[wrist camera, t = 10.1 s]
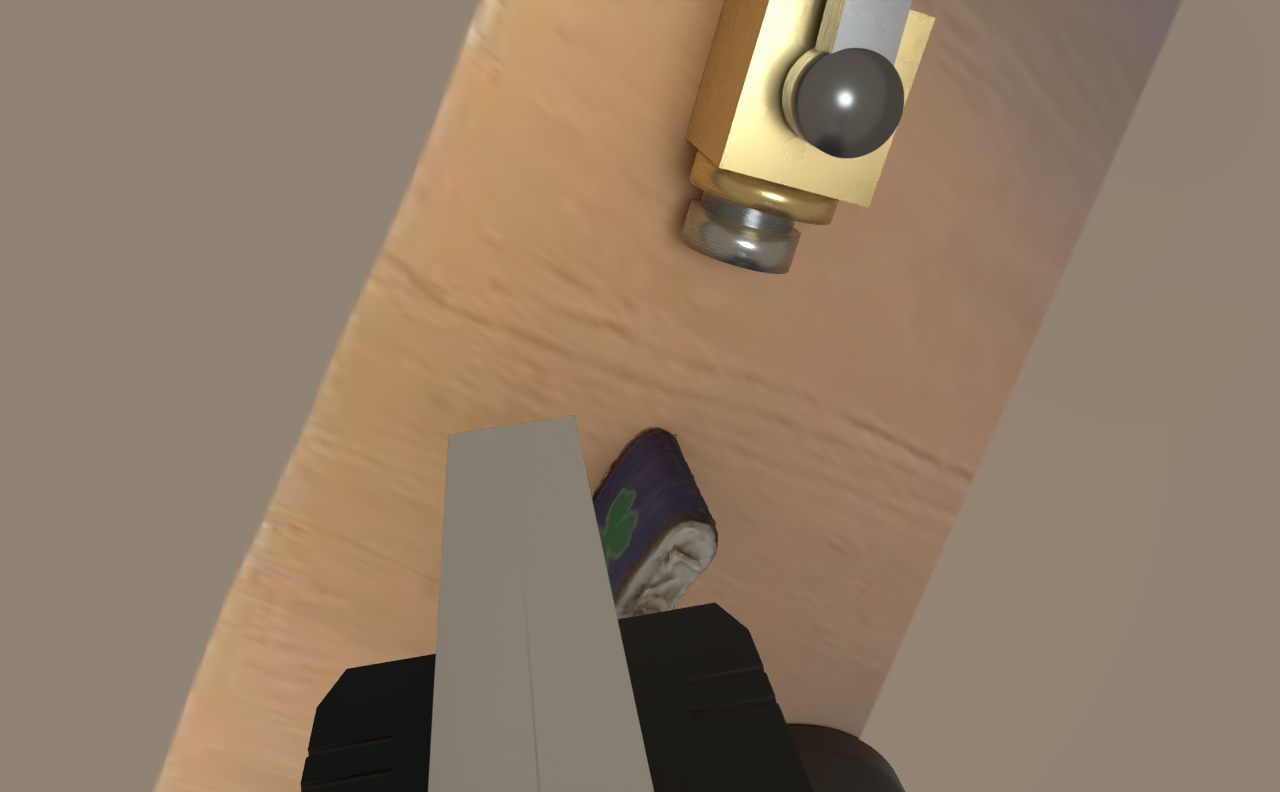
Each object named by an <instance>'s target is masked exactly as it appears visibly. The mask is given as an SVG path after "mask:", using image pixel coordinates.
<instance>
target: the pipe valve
mask: <svg viewBox="0 0 1280 792" xmlns="http://www.w3.org/2000/svg"><path fill="white" fill-rule="evenodd" d="M826 2H827V0H725V2H724V6H723V9H722V13H721V16H720V20H719V23H718V26H717V30H716V33H715V37H714V40H713V44H712V47H711V51H710V54H709V58H708V61H707V65H706V68H705V71H704V75H703V78H702V82H701V85H700V89H699V92H698V96H697V99H696V103H695V106H694V110H693V113H692V116H691V120H690V123H689V127H688V130H687V134H686V137H685V138H686V139H687V140H688V141H690V142H691V143H692V144H693V145H694V146H695V147H696V148H698V149H699V150H698V151H697V154H696V157H695V161H694V164H693V168H692V171H691V174H690V178H689V181H690V182H691V183H692V184H693V185H694V186H696V187H698V188H700V189H701V190H703V191H704V192H703V196H702V199H694V200H691V202H690V206H689V209H688V213H687V216H686V219H685V223H684V226H683V229H682V233H681V236H680V240H681V241H682V242H683V243H684V244H685V245H687V246H688V247H690V248H692V249H693V250H695V251H697V252H699V253H702V254H704V255H706V256H709V257H711V258H714V259H717V260H719V261H722V262H725V263H728V264H731V265H735V266H738V267H742V268H746V269H750V270H754V271H759V272H765V273H772V274H784V273H787V272H789V269H790V266H791V263H792V260H793V257H794V254H795V251H796V248H797V245H798V242H799V239H800V236H801V233H800V232H799V231H798V230H796V229H795V228H793V226H794V223H795V221H798V222H804V223H809V224H817V225H828V224H831V221H832V219H833V216H834V213H835V210H836V207H837V204H838V201H839V200H842V201H846V202H850V203H853V204H857V205H861V206H865V207H868V208H869V205H870V203H871V200H872V197H873V194H874V191H875V188H876V186H877V183H878V180H879V177H880V174H881V171H882V168H883V166H884V163H885V160H886V157H887V154H888V151H889V149H890V146H891V143H892V140H893V137H894V134H895V131H896V129H897V128H896V129H895V131H894V133H893V134H892V135H891V137H890V138H889V139H888V140H887V141H886V142H885V143H884V144H883V145H882V146H881V147H879V148H878V149H877V150H875V151H873V152H871V153H869V154H867V155H865V156H861V157H857V158H845V159H844V158H837V157H834V156H831V155H828V154H826V153H824V152H822V151H821V150H819V149H817V148H815V147H814V146H812V145H810V144H809V143H807V142H805V141H804V140H802V139H801V138H799V137H798V136H797V135H796V134H795V133H794V132H793V131H792V129H791V128H790V126H789V124H788V122H787V120H786V118H785V115H784V111H783V106H782V93H783V87H784V83H785V80H786V78H787V75H788V73H789V71H790V70H791V68H792V66H793V65H794V64H795V63H796V61H797V60H798V59H799V58H800V57H801V56H802V55H804V54H805V53H806V52H807V51H809V50H811V49H813V48H815V45H816V41H817V37H818V34H819V30H820V26H821V22H822V18H823V14H824V10H825V6H826ZM934 21H935V18H934V17H931V16H928V15H925V14H922V13H919V12H915V11H912V10H909V14H908V18H907V21H906V25H905V28H904V32H903V36H902V39H901V43H900V46H899V50H898V54H897V57H896V61H895V64H894V67H895V69H896V70H897V72H898V74H899V76H900V78H901V81H902V84H903V89H904V106H905V103H906V100H907V97H908V95H909V92H910V89H911V86H912V83H913V80H914V77H915V75H916V72H917V69H918V66H919V63H920V60H921V58H922V55H923V52H924V49H925V46H926V43H927V41H928V38H929V35H930V32H931V29H932V26H933V23H934ZM903 109H904V108H903Z"/></svg>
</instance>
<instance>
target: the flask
mask: <svg viewBox="0 0 1280 792" xmlns="http://www.w3.org/2000/svg"><path fill="white" fill-rule="evenodd" d="M676 435H677V434H674V435H672V434H671V433H669V432H667V431H665V430H663V429H661V428H647V429H646V430H644V431H642V432H640V433H638V434H637V436H636V437H635V438H634V439H633V440H631V441H630V442H629V443H628V444H627V445H626V446H625V449H624V450H622V452H621V454H620V455H619V457H618V458H617V459H616V460H615V462H613V463H612V465H611V466H610V467H611V469H609V471H608V472H607V473H606V474H605V477H604V478H603V479H602V481H601V484H600V486H599V488H598V490H596V492H595V495H594V496H593V506H594V511H595V516H596V520H597V525H598V530H599V534H600V539H601V544H602V549H603V553H604V558H605V563H606V567H607V572H608V577H609V582H610V586H611V591H612V596H613V601H614V605H615V610H616V615H617V619H622V618H628V617H634V616H640V615H646V614H651V613H657V612H663V611H669V610H673V609H674V607H675V604H676V603H677V601H678V600H679V599H680V597H681V596H682V595H683V593H684V592H685V590H686V589H687V587H688V586H689V585H690V584H691V583H692V582H693V581H694V580H695V579H696V578H697V577H698V575H699V574H700V573H702V572H703V571H704V570H705V569H707V567H708V566H709V564H710V562H711V561H712V559H713V558H714V556H715V555H716V551H717V546H718V544H717V543H718V533H717V530H716V527H715V525H716V523H715V521H714V519H713V518H712V516H711V514H710V513H709V510H708V506H707V505H706V503H705V501H704V499H703V497H702V495H701V494H700V490H699V488H698V487H697V485H696V482H695V480H694V476H693V475H692V473H691V471H690V469H689V467H688V465H687V463H686V461H685V459H684V457H683V455H682V452H681V449H680V447H679V444H678V442H677V440H676Z"/></svg>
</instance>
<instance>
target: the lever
mask: <svg viewBox="0 0 1280 792" xmlns="http://www.w3.org/2000/svg"><path fill="white" fill-rule="evenodd" d="M911 3H912V0H827V2H826V6H825V10H824V14H823V18H822V22H821V26H820V30H819V34H818V37H817V41H816V45H815V48H813V49H811V50H809V51H807V52H806V53H805V54H804V55H802V56H801V57H800V58H799V59H798V60H797V61H796V63H795V64H794V65H793V66H792V68H791V70H790V71H789V73H788V75H787V78H786V80H785V83H784V87H783V93H782V106H783V111H784V115H785V118H786V120H787V122H788V124H789V126H790V128H791V129H792V131H793V132H794V133H795V134H796V135H797V136H798V137H799V138H801V139H802V140H804V141H805V142H807V143H809V144H810V145H812V146H814V147H815V148H817V149H819V150H821V151H822V152H824V153H826V154H828V155H831V156H834V157H837V158H844V159H845V158H857V157H861V156H865V155H867V154H869V153H871V152H873V151H875V150H877V149H878V148H879V147H881V146H882V145H883V144H884V143H885V142H886V141H887V140H888V139H889V138H890V137H891V135H892V134H893V133H894V131H895V129H896V128H897V126H898V124H899V122H900V119H901V116H902V112H903V108H904V89H903V84H902V81H901V78H900V76H899V74H898V72H897V70H896V69H895V67H894V64H895V61H896V57H897V54H898V50H899V46H900V43H901V39H902V36H903V32H904V28H905V25H906V21H907V18H908V14H909V10H910V7H911Z"/></svg>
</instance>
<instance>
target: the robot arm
mask: <svg viewBox="0 0 1280 792" xmlns="http://www.w3.org/2000/svg"><path fill="white" fill-rule="evenodd" d="M308 753H309V757H307V758H306V761H305V766H304V770H303V775H302V780H301V792H905V791H904V789H903V787H902V785H901V783H900V781H899V779H898V777H897V775H896V773H895V772H894V770H893V768H892V767H891V766H890V764H889V763H888V762H887V761H886V760H885V759H884V758H883V756H881V755H880V754H879V753H878V752H877V751H876V750H874V749H873V748H872V747H871V746H869V745H867V744H866V743H864V742H862V741H861V740H859V739H857V738H855V737H853V736H850V735H848V734H845V733H842V732H839V731H836V730H832V729H827V728H822V727H815V726H787V724H786V722H785V719H784V717H783V714H782V712H781V709H780V707H779V704H778V703H776V699H775V694H774V692H773V689H772V687H771V684H770V682H769V679H768V677H767V674H766V673H764V669H763V664H762V662H761V659H760V657H759V654H758V652H757V649H756V647H755V644H754V642H753V639H752V637H751V634H750V632H749V630H748V629H747V628H746V627H745V626H743V625H742V624H741V623H740V622H738V621H737V620H736V619H735V618H733V617H732V616H731V615H730V614H729V613H727V612H726V611H725V610H724V609H722V608H721V607H720V606H719V605H717V604H716V603H710V604H705V605H699V606H693V607H687V608H681V609H675V610H669V611H663V612H657V613H651V614H646V615H640V616H634V617H628V618H622V619H617V615H616V610H615V605H614V601H613V596H612V591H611V586H610V582H609V577H608V572H607V567H606V563H605V558H604V553H603V549H602V544H601V539H600V534H599V530H598V525H597V520H596V516H595V511H594V506H593V501H592V497H591V492H590V487H589V483H588V478H587V473H586V468H585V464H584V459H583V454H582V449H581V445H580V440H579V435H578V431H577V426H576V421H575V416H567V417H560V418H554V419H547V420H541V421H534V422H528V423H521V424H515V425H508V426H502V427H495V428H488V429H482V430H475V431H469V432H462V433H456V434H449V436H448V453H447V471H446V488H445V505H444V523H443V540H442V558H441V575H440V592H439V610H438V627H437V644H436V654H432V655H426V656H420V657H414V658H408V659H403V660H397V661H391V662H385V663H379V664H373V665H367V666H361V667H356V668H350V669H346V670H345V672H344V673H343V674H342V676H341V677H340V678H339V680H338V681H337V682H336V683H335V685H334V686H333V687H332V689H331V690H330V691H329V693H328V694H327V695H326V696H325V698H324V699H323V700H322V702H321V703H320V704H319V706H318V707H317V709H316V714H315V718H314V723H313V728H312V732H311V737H310V742H309V747H308Z"/></svg>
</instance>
